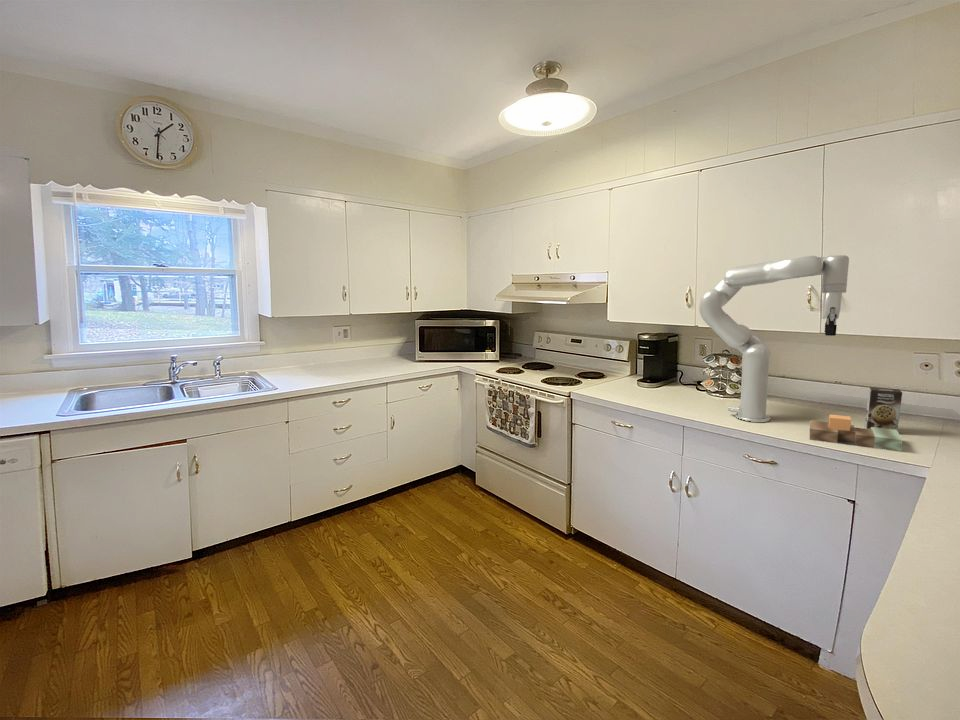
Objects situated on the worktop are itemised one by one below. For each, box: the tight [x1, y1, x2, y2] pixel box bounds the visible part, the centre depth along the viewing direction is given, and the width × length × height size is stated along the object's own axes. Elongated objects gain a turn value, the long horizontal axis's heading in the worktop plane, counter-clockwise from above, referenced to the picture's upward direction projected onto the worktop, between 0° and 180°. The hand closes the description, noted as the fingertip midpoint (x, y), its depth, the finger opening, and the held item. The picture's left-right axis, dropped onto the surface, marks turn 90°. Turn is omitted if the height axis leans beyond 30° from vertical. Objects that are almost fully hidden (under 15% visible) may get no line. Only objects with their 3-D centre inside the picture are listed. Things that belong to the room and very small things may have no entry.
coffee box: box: [864, 386, 903, 431], centre depth 176 cm, size 9×6×16 cm
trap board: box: [809, 419, 903, 452], centre depth 168 cm, size 25×13×4 cm, turn 55°
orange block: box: [828, 414, 852, 431], centre depth 169 cm, size 6×5×4 cm
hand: (829, 334), depth 178 cm, fingers open, 9 cm apart
